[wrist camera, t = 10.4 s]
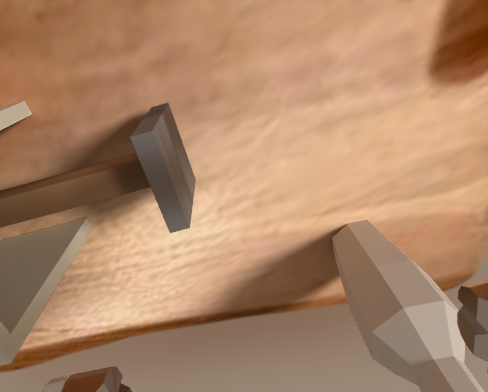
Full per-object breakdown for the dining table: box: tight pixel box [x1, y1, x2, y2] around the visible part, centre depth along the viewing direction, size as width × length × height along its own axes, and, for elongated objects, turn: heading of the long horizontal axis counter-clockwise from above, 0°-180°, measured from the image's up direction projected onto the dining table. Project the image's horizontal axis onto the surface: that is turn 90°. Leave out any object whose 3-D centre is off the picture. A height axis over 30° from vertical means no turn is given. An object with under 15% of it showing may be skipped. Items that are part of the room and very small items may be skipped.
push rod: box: [0, 103, 196, 233], centre depth 23 cm, size 6×24×7 cm, turn 105°
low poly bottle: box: [332, 220, 484, 392], centre depth 23 cm, size 6×6×22 cm
